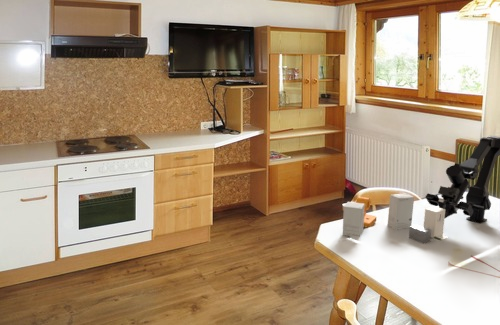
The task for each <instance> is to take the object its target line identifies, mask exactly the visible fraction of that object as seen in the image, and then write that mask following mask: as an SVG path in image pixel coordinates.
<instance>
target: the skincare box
mask: <svg viewBox="0 0 500 325" xmlns="http://www.w3.org/2000/svg"><path fill="white" fill-rule="evenodd" d="M414 199H415V196H413V195H410V194H408V193H397V194H395V193H393V194H390V196H389V204H388V205H389V207H388V216H387V226H389V227H390V228H392V229H393V230H402V229H406V228H407V229H410V226H412V221H413V211H414V203H415V200H414Z"/></svg>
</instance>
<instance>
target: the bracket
mask: <svg viewBox="0 0 500 325" xmlns="http://www.w3.org/2000/svg"><path fill="white" fill-rule="evenodd" d="M355 203H363V204H365V208H364V226H363V228H372V227H373V226H375V224H376V221H377V216H376V215H371V214H367V211H369V210H370V207H371V198H369V197H363V196H358V197H357V198H356V201H355Z"/></svg>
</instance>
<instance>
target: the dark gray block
mask: <svg viewBox="0 0 500 325" xmlns="http://www.w3.org/2000/svg"><path fill="white" fill-rule="evenodd" d="M431 231H432V230H431V229H428V228H425V227H424V226H421V225H420V224H413V225H411V226H410V228H409V230H408V239H411V240H413V241H415V242H419V243H421V244H423V245H425V244H427V243H430V242H431V239H432V238H431Z"/></svg>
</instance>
